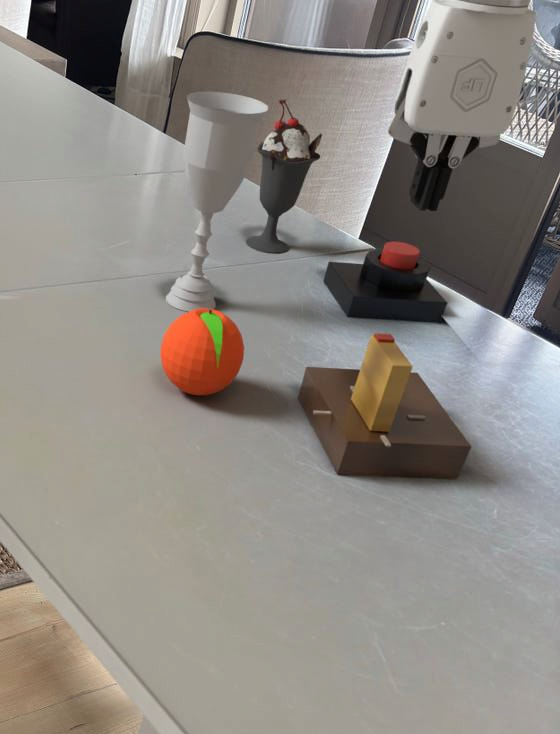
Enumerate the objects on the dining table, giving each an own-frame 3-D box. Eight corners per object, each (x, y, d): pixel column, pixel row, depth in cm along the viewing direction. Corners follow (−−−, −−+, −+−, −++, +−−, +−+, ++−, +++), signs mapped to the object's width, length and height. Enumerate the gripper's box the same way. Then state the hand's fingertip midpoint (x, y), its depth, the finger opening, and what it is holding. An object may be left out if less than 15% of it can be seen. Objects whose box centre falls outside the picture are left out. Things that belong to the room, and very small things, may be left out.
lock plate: (406, 403, 86) (418, 370, 83) (460, 483, 76) (475, 448, 74) (279, 397, 84) (288, 363, 82) (319, 478, 75) (330, 442, 73)
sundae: (225, 240, 111) (255, 94, 101) (262, 231, 115) (294, 89, 105) (270, 261, 108) (305, 112, 98) (307, 250, 112) (344, 106, 102)
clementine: (247, 418, 81) (267, 337, 76) (166, 416, 79) (181, 334, 75) (222, 372, 86) (239, 294, 82) (147, 370, 85) (159, 290, 80)
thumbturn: (389, 432, 75) (414, 363, 71) (369, 431, 75) (393, 362, 71) (369, 400, 79) (391, 332, 75) (350, 399, 78) (371, 331, 75)
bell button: (407, 259, 102) (412, 242, 101) (419, 273, 100) (425, 256, 99) (374, 257, 102) (380, 240, 101) (386, 270, 99) (391, 253, 98)
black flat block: (410, 287, 106) (422, 250, 104) (440, 323, 100) (454, 285, 97) (322, 281, 105) (333, 244, 102) (347, 317, 98) (359, 278, 96)
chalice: (216, 288, 100) (255, 94, 88) (235, 317, 95) (279, 116, 83) (147, 286, 99) (178, 89, 87) (163, 315, 94) (197, 110, 82)
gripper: (422, -13, 81) (362, 215, 93) (588, 1, 83) (509, 223, 95) (392, -27, 86) (339, 190, 99) (549, -14, 88) (478, 197, 100)
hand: (422, 205), depth 97 cm, fingers closed
